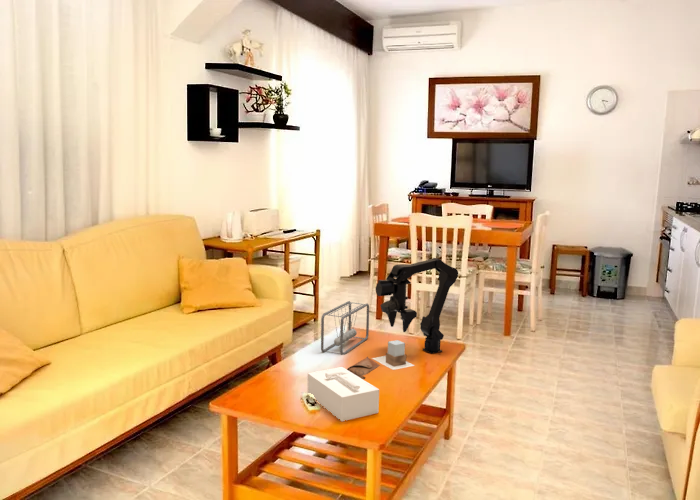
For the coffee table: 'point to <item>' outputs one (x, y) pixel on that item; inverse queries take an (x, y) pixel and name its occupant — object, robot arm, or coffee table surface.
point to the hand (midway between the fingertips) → (398, 329)
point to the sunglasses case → (363, 367)
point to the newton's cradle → (350, 333)
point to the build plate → (383, 361)
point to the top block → (396, 348)
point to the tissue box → (343, 393)
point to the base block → (395, 360)
